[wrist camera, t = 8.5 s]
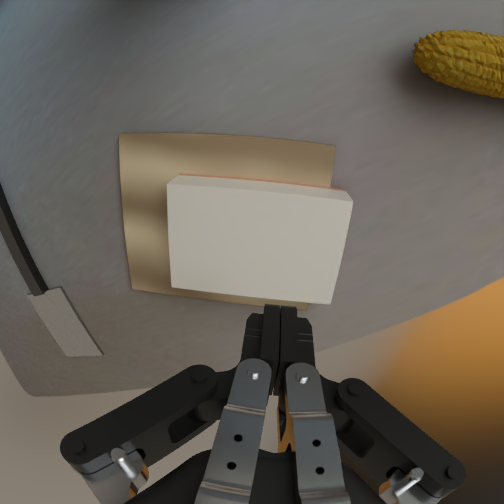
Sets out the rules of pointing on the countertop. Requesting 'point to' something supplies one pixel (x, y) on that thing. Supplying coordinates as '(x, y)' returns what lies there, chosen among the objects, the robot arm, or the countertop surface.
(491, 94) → the food
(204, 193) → the sponge
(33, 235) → the countertop surface
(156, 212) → the board
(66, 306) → the knife with black handle
